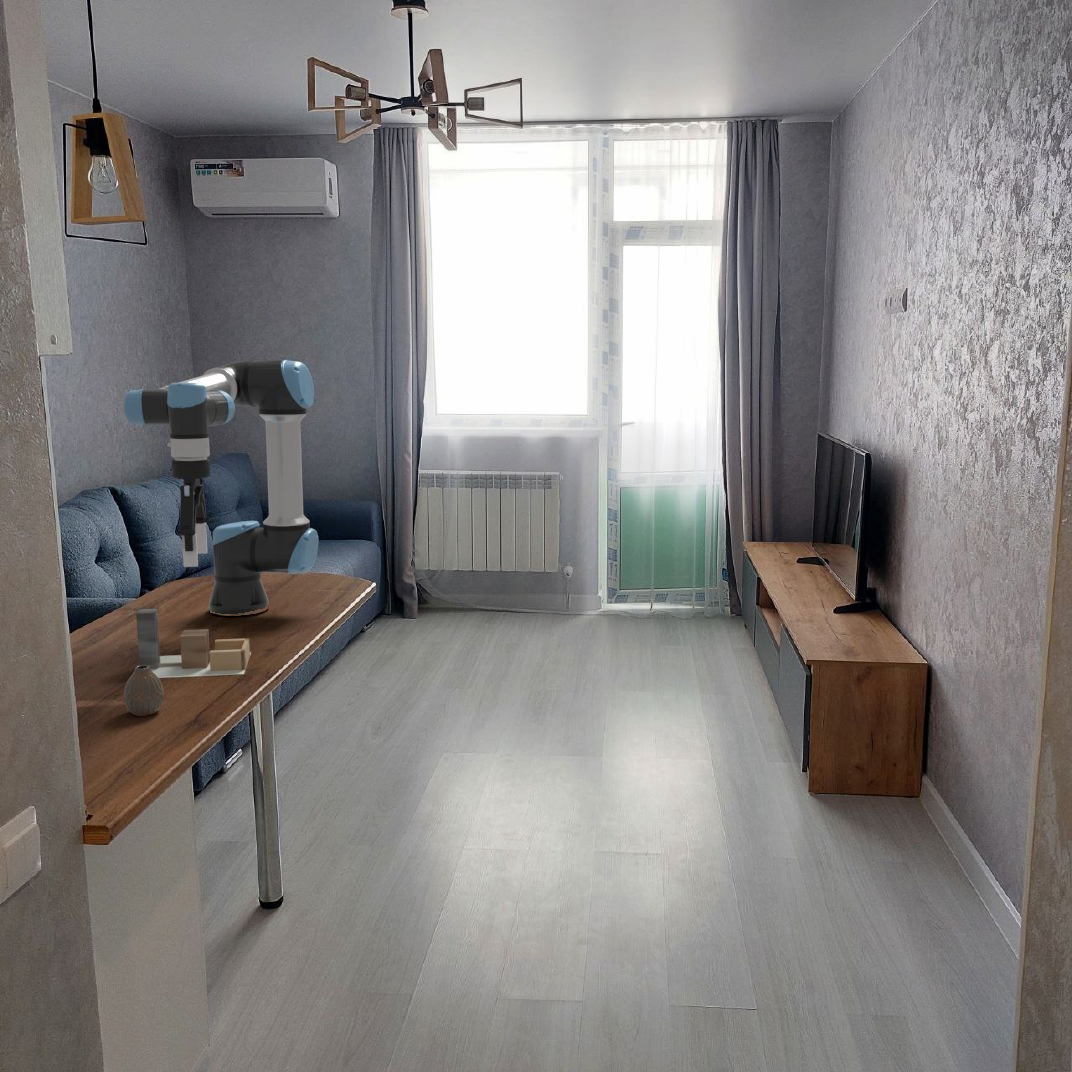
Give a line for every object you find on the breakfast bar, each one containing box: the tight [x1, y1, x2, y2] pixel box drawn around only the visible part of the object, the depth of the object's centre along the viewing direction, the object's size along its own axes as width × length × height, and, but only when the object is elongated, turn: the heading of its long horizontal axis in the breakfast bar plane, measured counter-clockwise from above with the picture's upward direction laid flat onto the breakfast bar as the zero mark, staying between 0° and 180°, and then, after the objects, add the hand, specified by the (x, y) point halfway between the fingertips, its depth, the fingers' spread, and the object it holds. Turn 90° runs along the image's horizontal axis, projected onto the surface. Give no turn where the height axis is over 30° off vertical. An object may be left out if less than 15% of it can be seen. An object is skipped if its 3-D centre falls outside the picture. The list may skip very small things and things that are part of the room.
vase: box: [123, 665, 165, 717], centre depth 184 cm, size 7×7×9 cm
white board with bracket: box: [151, 637, 252, 679], centre depth 211 cm, size 16×22×5 cm
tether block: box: [135, 608, 211, 669], centre depth 209 cm, size 5×14×12 cm, turn 101°
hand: (196, 559), depth 209 cm, fingers open, 13 cm apart
